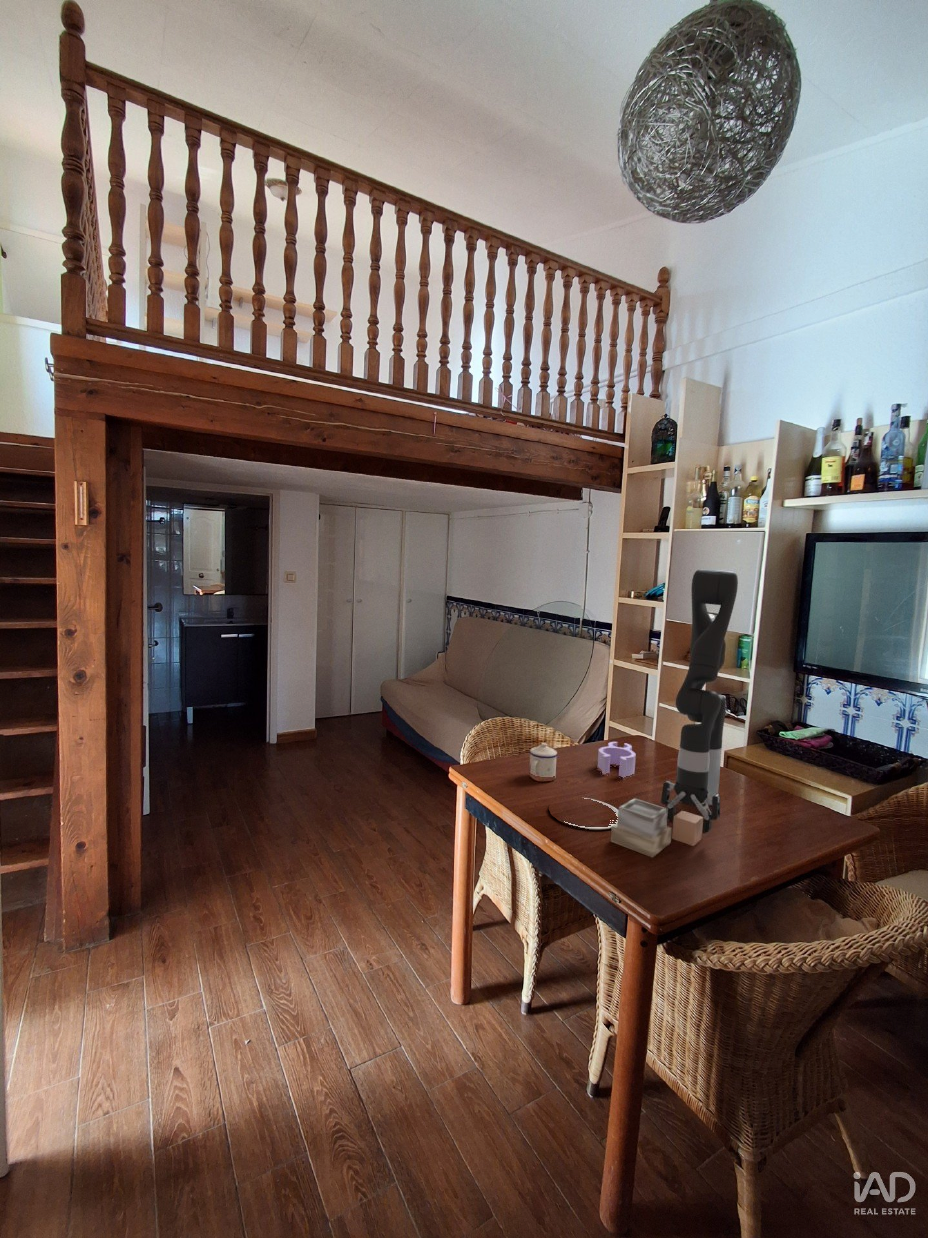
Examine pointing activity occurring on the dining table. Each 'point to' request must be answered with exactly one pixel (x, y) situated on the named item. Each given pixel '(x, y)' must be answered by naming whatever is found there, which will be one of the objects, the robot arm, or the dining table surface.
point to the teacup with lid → (543, 761)
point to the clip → (617, 759)
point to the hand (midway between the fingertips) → (688, 827)
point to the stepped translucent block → (642, 827)
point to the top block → (687, 828)
